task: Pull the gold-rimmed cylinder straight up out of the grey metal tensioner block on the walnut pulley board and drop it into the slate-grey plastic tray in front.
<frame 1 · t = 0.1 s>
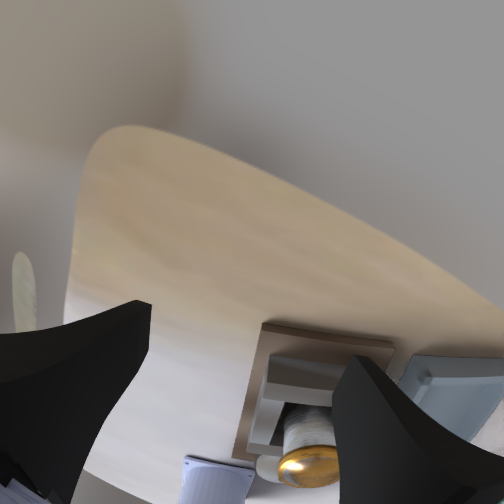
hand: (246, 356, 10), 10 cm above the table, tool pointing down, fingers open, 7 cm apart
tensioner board: (302, 409, 23), on the table
gold-rimmed cylinder: (309, 402, 21), point 1 cm above the table, touching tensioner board
tray: (426, 420, 23), on the table
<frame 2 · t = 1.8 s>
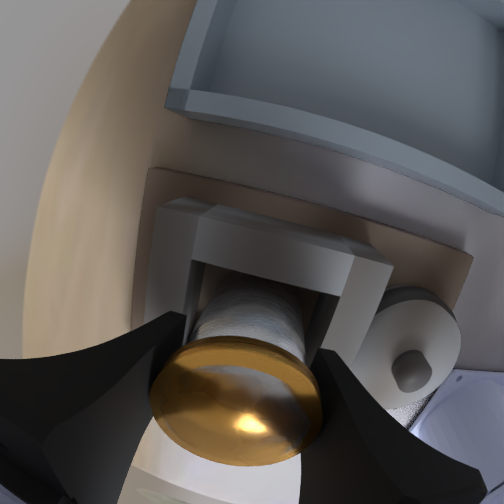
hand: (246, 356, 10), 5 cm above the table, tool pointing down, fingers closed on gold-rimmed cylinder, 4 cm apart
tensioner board: (297, 306, 15), on the table
gold-rimmed cylinder: (255, 306, 14), point 1 cm above the table, touching gripper, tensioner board
tray: (385, 46, 11), on the table
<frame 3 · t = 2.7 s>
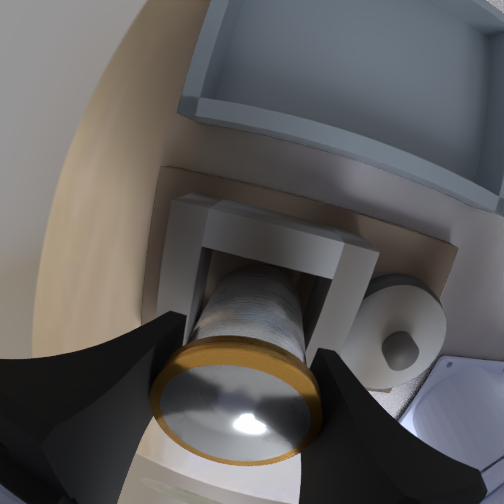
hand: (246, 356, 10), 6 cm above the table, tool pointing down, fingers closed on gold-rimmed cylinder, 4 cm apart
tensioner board: (295, 293, 16), on the table
gold-rimmed cylinder: (255, 305, 14), point 3 cm above the table, touching gripper
tray: (375, 55, 12), on the table
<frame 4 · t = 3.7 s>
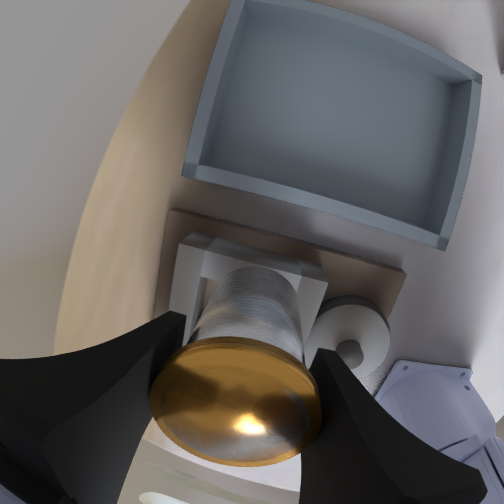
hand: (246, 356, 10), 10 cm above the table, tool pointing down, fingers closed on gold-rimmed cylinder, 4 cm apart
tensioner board: (272, 306, 21), on the table
gold-rimmed cylinder: (254, 307, 14), point 7 cm above the table, touching gripper
tray: (342, 115, 17), on the table
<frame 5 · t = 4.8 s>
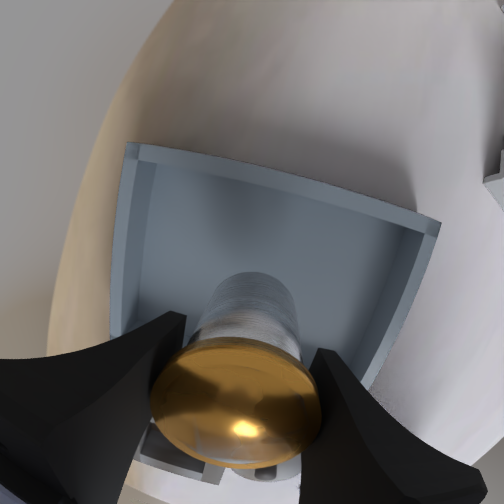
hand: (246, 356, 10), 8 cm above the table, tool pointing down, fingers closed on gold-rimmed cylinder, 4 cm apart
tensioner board: (209, 420, 22), on the table
gold-rimmed cylinder: (252, 312, 14), point 4 cm above the table, touching gripper
tray: (262, 274, 18), on the table
when the fingers open (6 cm above the table, at t = 5.6 s): gold-rimmed cylinder drops 1 cm, resting on tray.
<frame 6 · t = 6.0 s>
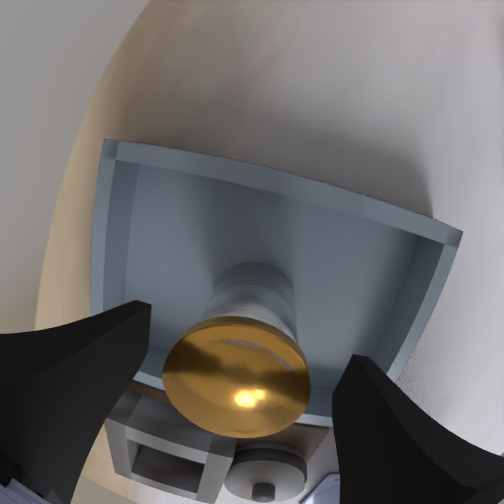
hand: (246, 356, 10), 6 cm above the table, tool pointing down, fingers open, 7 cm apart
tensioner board: (203, 438, 20), on the table
gold-rimmed cylinder: (254, 299, 15), point 1 cm above the table, touching tray
tray: (259, 288, 16), on the table
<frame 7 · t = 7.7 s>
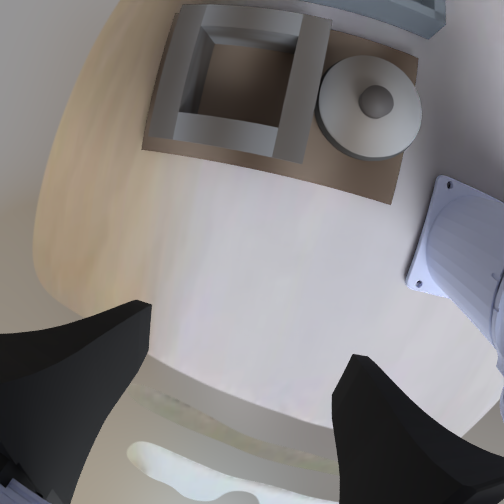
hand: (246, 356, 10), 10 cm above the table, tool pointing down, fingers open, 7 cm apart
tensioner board: (280, 94, 17), on the table
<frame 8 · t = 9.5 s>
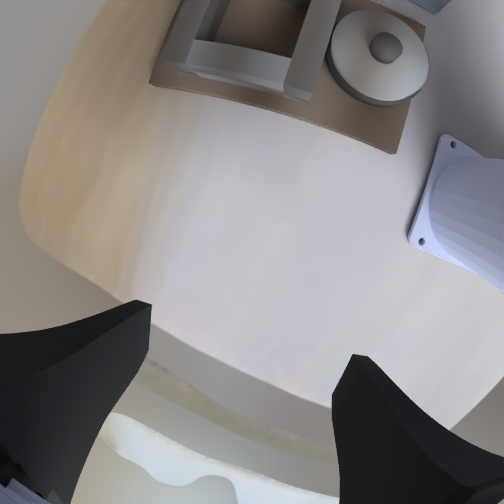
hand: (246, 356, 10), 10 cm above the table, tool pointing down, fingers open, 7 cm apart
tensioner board: (292, 43, 15), on the table
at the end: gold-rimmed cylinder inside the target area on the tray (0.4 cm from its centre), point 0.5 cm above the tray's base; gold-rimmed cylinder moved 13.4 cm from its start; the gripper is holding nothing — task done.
